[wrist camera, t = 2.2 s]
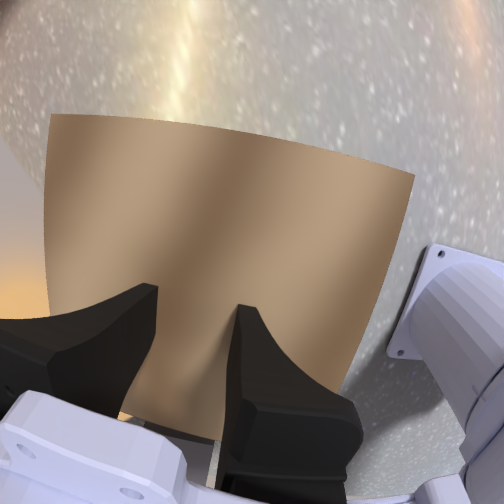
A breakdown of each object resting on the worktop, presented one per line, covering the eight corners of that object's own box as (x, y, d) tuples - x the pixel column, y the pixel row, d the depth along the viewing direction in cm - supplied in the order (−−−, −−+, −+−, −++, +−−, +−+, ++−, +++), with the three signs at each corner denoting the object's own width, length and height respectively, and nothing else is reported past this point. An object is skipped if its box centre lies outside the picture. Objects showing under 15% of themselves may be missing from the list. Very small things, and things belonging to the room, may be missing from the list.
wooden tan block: (404, 172, 10) (415, 174, 9) (304, 441, 15) (304, 456, 14) (66, 114, 11) (51, 114, 10) (72, 377, 15) (63, 387, 14)
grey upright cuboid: (224, 377, 21) (213, 445, 15) (214, 429, 23) (204, 490, 17) (167, 365, 21) (142, 429, 15) (165, 418, 23) (146, 477, 17)
